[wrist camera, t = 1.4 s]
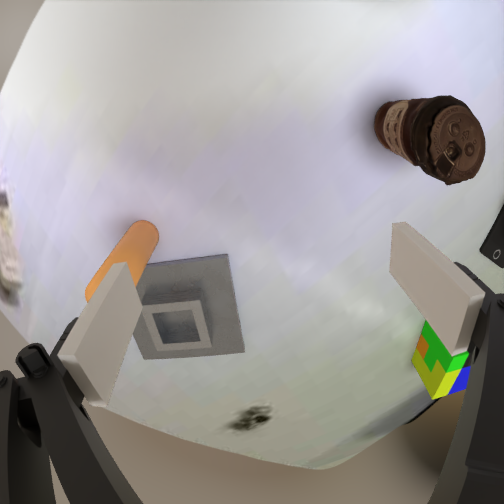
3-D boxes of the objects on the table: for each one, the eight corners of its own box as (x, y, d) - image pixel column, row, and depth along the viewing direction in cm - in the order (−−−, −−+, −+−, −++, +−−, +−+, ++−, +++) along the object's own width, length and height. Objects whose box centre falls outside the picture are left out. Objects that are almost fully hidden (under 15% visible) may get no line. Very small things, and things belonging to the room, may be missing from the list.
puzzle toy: (451, 350, 51) (474, 385, 43) (411, 360, 51) (432, 399, 42) (468, 310, 47) (496, 344, 38) (426, 318, 47) (453, 357, 38)
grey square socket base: (111, 268, 40) (102, 282, 37) (227, 253, 40) (226, 267, 37) (145, 355, 47) (140, 370, 44) (244, 347, 47) (245, 364, 44)
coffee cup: (369, 166, 35) (425, 198, 24) (356, 98, 32) (413, 100, 20) (428, 153, 35) (493, 181, 23) (418, 90, 31) (487, 94, 19)
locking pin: (125, 223, 37) (78, 282, 25) (154, 218, 37) (117, 277, 25) (133, 251, 39) (94, 318, 27) (162, 247, 39) (131, 316, 26)
